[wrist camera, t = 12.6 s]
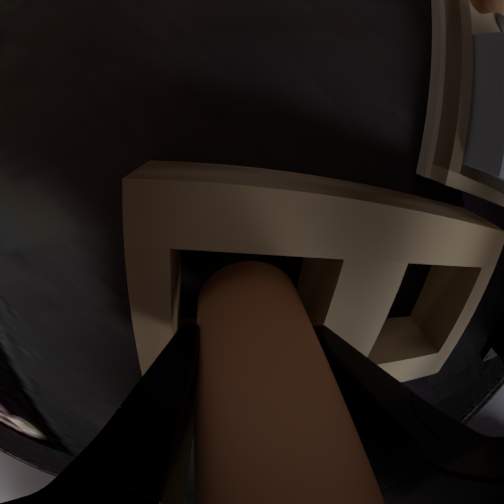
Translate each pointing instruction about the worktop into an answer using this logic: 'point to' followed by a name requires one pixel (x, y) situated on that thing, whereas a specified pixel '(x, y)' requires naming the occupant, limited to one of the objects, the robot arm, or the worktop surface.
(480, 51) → the cover
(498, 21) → the shallow beige tray
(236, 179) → the socket board
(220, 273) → the peg
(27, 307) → the worktop surface
